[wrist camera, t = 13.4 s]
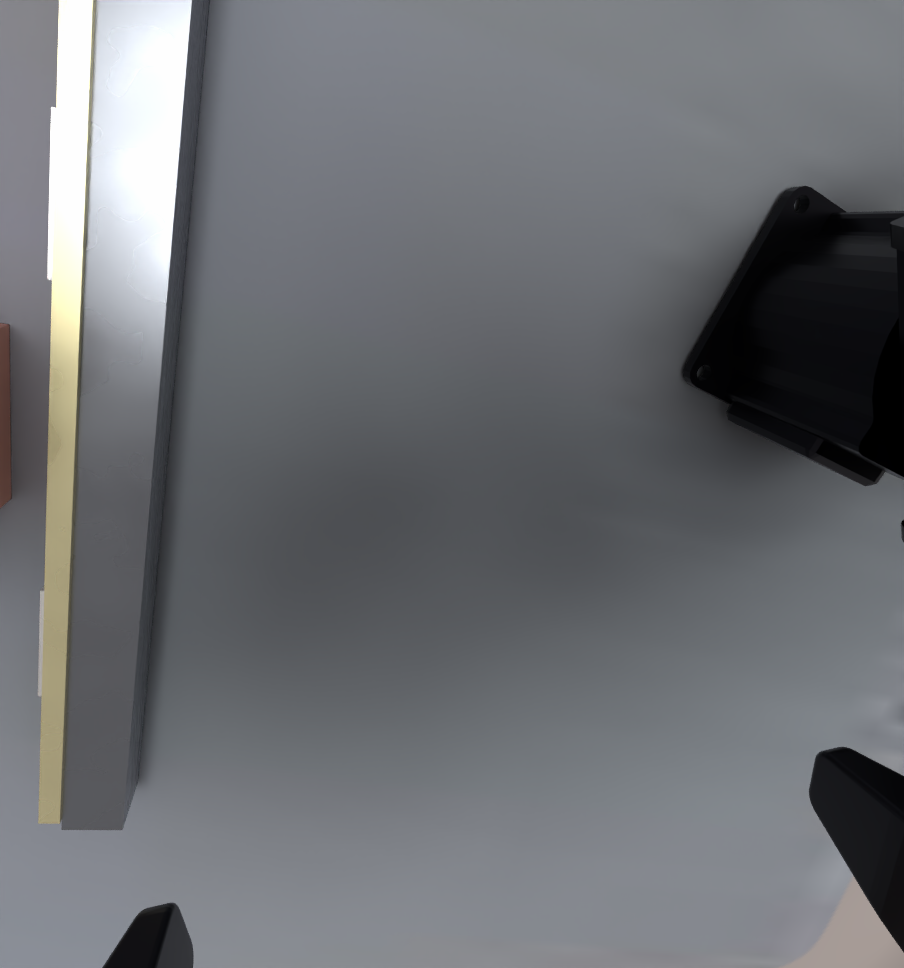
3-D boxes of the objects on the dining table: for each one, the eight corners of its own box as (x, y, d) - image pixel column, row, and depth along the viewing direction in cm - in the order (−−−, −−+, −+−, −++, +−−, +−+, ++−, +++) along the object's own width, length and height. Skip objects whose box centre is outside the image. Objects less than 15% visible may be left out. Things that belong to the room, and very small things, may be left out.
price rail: (219, -101, 14) (202, -154, 12) (138, 781, 23) (120, 835, 21) (91, -148, 14) (51, -213, 12) (57, 779, 22) (30, 835, 20)
